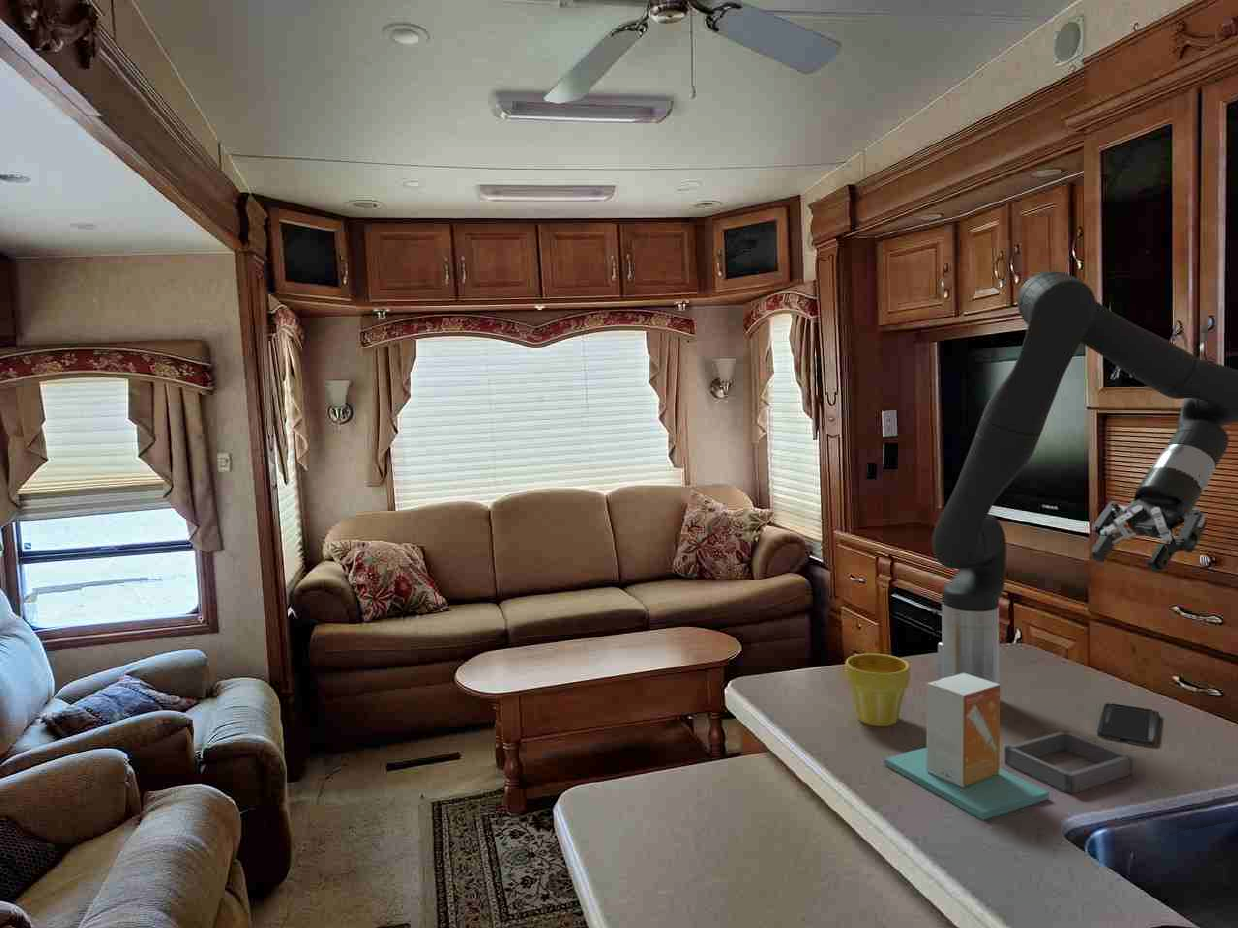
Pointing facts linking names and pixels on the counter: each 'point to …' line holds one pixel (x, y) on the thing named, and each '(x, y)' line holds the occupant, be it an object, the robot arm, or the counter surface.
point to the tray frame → (1070, 782)
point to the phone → (1129, 724)
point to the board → (970, 787)
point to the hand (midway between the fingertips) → (1123, 563)
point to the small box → (963, 729)
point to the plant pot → (877, 687)
